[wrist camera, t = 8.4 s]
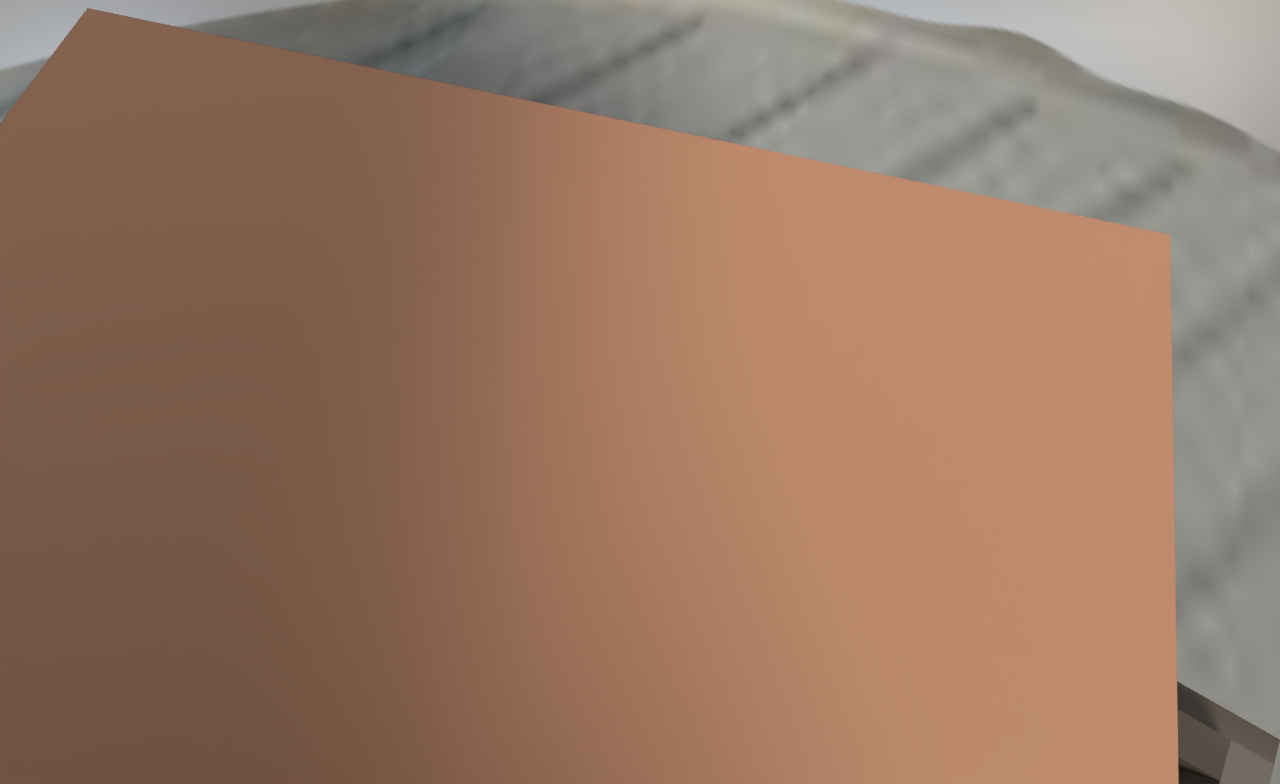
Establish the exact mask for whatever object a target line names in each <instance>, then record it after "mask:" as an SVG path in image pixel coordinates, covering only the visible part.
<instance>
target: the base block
mask: <svg viewBox="0 0 1280 784" xmlns="http://www.w3.org/2000/svg"><path fill="white" fill-rule="evenodd" d="M1177 713H1178V778H1179V784H1269V783H1270V779H1271V775H1272V771H1273V767H1274V762H1275V758H1276V754H1277V750H1278V746H1279V742H1280V740H1279V739H1278V738H1276V737H1274V736H1272V735H1270V734H1269V733H1267V732H1265V731H1263V730H1262V729H1260V728H1258V727H1256V726H1255V725H1253V724H1251V723H1249V722H1248V721H1246V720H1244V719H1242V718H1241V717H1239V716H1237V715H1235V714H1234V713H1232V712H1230V711H1228V710H1226V709H1225V708H1223V707H1221V706H1219V705H1218V704H1216V703H1214V702H1212V701H1211V700H1209V699H1207V698H1205V697H1204V696H1202V695H1200V694H1198V693H1197V692H1195V691H1193V690H1191V689H1189V688H1188V687H1186V686H1184V685H1182V684H1181V683H1179V682H1177Z"/></svg>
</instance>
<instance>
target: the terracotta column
mask: <svg viewBox="0 0 1280 784" xmlns="http://www.w3.org/2000/svg"><path fill="white" fill-rule="evenodd" d="M0 784H1179V778H1178V713H1177V648H1176V583H1175V518H1174V453H1173V388H1172V323H1171V259H1170V235H1169V234H1164V233H1159V232H1154V231H1150V230H1145V229H1140V228H1135V227H1131V226H1126V225H1121V224H1116V223H1111V222H1107V221H1102V220H1097V219H1092V218H1088V217H1083V216H1078V215H1073V214H1068V213H1064V212H1059V211H1054V210H1049V209H1045V208H1040V207H1035V206H1030V205H1025V204H1021V203H1016V202H1011V201H1006V200H1001V199H997V198H992V197H987V196H982V195H978V194H973V193H968V192H963V191H958V190H954V189H949V188H944V187H939V186H935V185H930V184H925V183H920V182H915V181H911V180H906V179H901V178H896V177H892V176H887V175H882V174H877V173H872V172H868V171H863V170H858V169H853V168H849V167H844V166H839V165H834V164H829V163H825V162H820V161H815V160H810V159H806V158H801V157H796V156H791V155H786V154H782V153H777V152H772V151H767V150H763V149H758V148H753V147H748V146H743V145H739V144H734V143H729V142H724V141H720V140H715V139H710V138H705V137H700V136H696V135H691V134H686V133H681V132H677V131H672V130H667V129H662V128H657V127H653V126H648V125H643V124H638V123H634V122H629V121H624V120H619V119H614V118H610V117H605V116H600V115H595V114H590V113H586V112H581V111H576V110H571V109H567V108H562V107H557V106H552V105H547V104H543V103H538V102H533V101H528V100H524V99H519V98H514V97H509V96H504V95H500V94H495V93H490V92H485V91H481V90H476V89H471V88H466V87H461V86H457V85H452V84H447V83H442V82H438V81H433V80H428V79H423V78H418V77H414V76H409V75H404V74H399V73H395V72H390V71H385V70H380V69H375V68H371V67H366V66H361V65H356V64H352V63H347V62H342V61H337V60H332V59H328V58H323V57H318V56H313V55H309V54H304V53H299V52H294V51H289V50H285V49H280V48H275V47H270V46H266V45H261V44H256V43H251V42H246V41H242V40H237V39H232V38H227V37H223V36H218V35H213V34H208V33H203V32H199V31H194V30H189V29H184V28H179V27H175V26H170V25H165V24H160V23H156V22H150V21H146V20H140V19H136V18H132V17H127V16H122V15H117V14H113V13H107V12H102V11H98V10H93V9H88V8H87V10H86V11H85V13H84V14H83V15H82V16H81V18H80V19H79V21H78V22H77V23H76V24H75V26H74V27H73V28H72V30H71V31H70V32H69V34H68V35H67V36H66V37H65V39H64V40H63V41H62V43H61V44H60V45H59V47H58V48H57V49H56V51H55V52H54V53H53V55H52V56H51V57H50V59H49V60H48V61H47V63H46V64H45V65H44V67H43V68H42V69H41V70H40V72H39V73H38V74H37V76H36V77H35V78H34V80H33V81H32V82H31V84H30V85H29V86H28V88H27V89H26V90H25V92H24V93H23V94H22V96H21V97H20V98H19V100H18V101H17V102H16V104H15V105H14V106H13V107H12V109H11V110H10V111H9V113H8V114H7V115H6V117H5V118H4V119H3V121H2V122H1V123H0Z"/></svg>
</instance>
